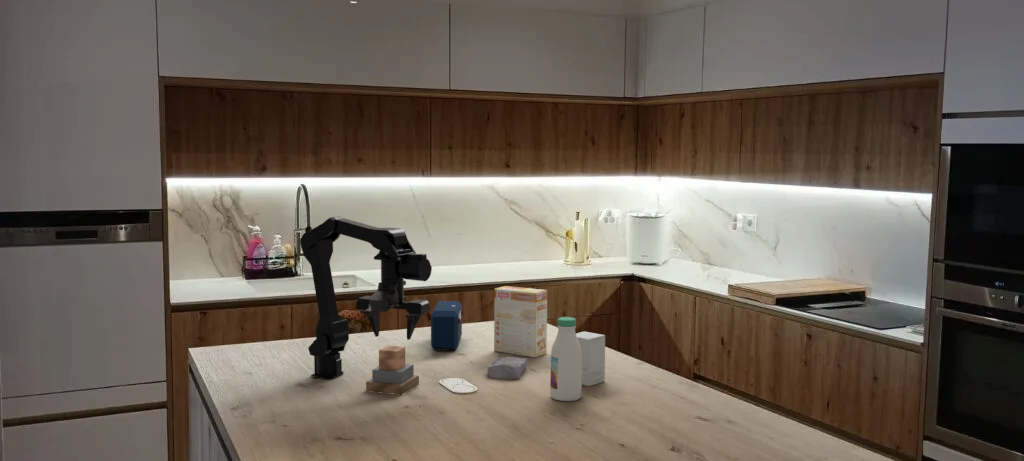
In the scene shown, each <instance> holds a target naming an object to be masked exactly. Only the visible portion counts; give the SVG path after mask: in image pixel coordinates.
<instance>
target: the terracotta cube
mask: <svg viewBox="0 0 1024 461" xmlns="http://www.w3.org/2000/svg"><path fill="white" fill-rule="evenodd" d="M405 364H406V347H405V346H397V345H386V346H384V347H382V348H380V349H378V366H379V369H384V370H393V371H397V370H399V369H401V368H403V367H405Z"/></svg>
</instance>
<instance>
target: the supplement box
mask: <svg viewBox="0 0 1024 461" xmlns="http://www.w3.org/2000/svg"><path fill="white" fill-rule="evenodd" d="M575 333H576V332H575ZM576 336H577V339H578V341H579V344H580V347H581V353H582V383H581V386H587V387H591V386H595V385H598V384H600V383H603V382H605V380H606V369H605V368H606V335H605V334H601V333H594V332H589V331H585V330H584V331H580V332H577V333H576Z"/></svg>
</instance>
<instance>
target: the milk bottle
mask: <svg viewBox="0 0 1024 461" xmlns="http://www.w3.org/2000/svg"><path fill="white" fill-rule="evenodd" d="M556 324H557V328H558V330H557V334H556V336H555V339H554V341H553V344H552V346H551V351H550V353H551V354H550V379H549V380H550V381H549V382H550V386H549V388H550V390H549V391H550V394H549V395H550V398H551V399H553V400H556V401H562V402H574V401H577V400H580V399H581V397H582V384H581V383H582V353H581V347H580V344H579V341H578V339H577V336H576V327H577V319H576V318H575V317H572V316H571V317H570V316H561V317H559V318H557V322H556Z"/></svg>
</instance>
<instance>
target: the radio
mask: <svg viewBox="0 0 1024 461" xmlns="http://www.w3.org/2000/svg"><path fill="white" fill-rule="evenodd" d="M463 316H464V310H463V305H462V303H461V302H460V301H459V300H456V301H455V300H438V302H437V304H436V305H435V306H434V309H433V310H432V312H431V313H430V346H431V348H432V349H433V351H456V349H457V348H458V347H459V344H460V340H461V339H462V334H463V328H462V327H463V324H462V323H463V321H462V320H463Z"/></svg>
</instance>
